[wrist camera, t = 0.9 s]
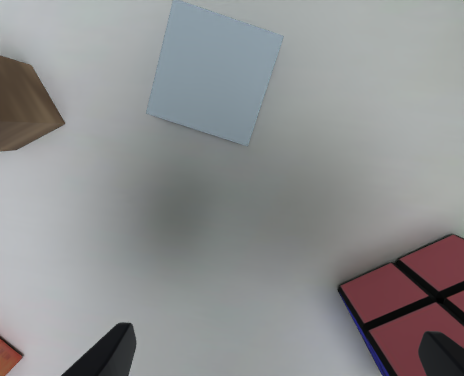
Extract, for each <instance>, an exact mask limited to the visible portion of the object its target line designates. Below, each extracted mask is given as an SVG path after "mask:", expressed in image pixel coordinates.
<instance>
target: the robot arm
mask: <svg viewBox="0 0 464 376" xmlns="http://www.w3.org/2000/svg"><path fill="white" fill-rule="evenodd" d="M135 349H136V337H135V332H134V328H133V325H132V324H131V323H118V324H117V325H116V326H114V327H113V328H112V329H111V330H110V331H109V332H108V333H107V334H106V335H105V336H104V337H102V338H101V339H100V340H99V341H98V342H97V343H96V344H95V345H94V346H93V347H92V348H91V349H89V350H88V351H87V352H86V353H85V354H84V355H83V356H82V357H81V358H80V359H79V360H77V361H76V362H75V363H74V364H73V365H72V366H71V367H70V368H69V369H68V370H67V371H66V372H64V373H63V374H62V375H61V376H128V375H129V371H130V368H131V364H132V360H133V357H134V353H135ZM418 355H419V358H420V361H421V363H422V366H423V368H424V371H425V373H426V376H464V348H463V347H461V346H460V345H459V344H457V343H456V342H455V341H453V340H452V339H450V338H449V337H448V336H446V335H445V334H444V333H442V332H439V331H426V332H424V334H423V336H422V339H421V342H420V345H419V348H418Z"/></svg>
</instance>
